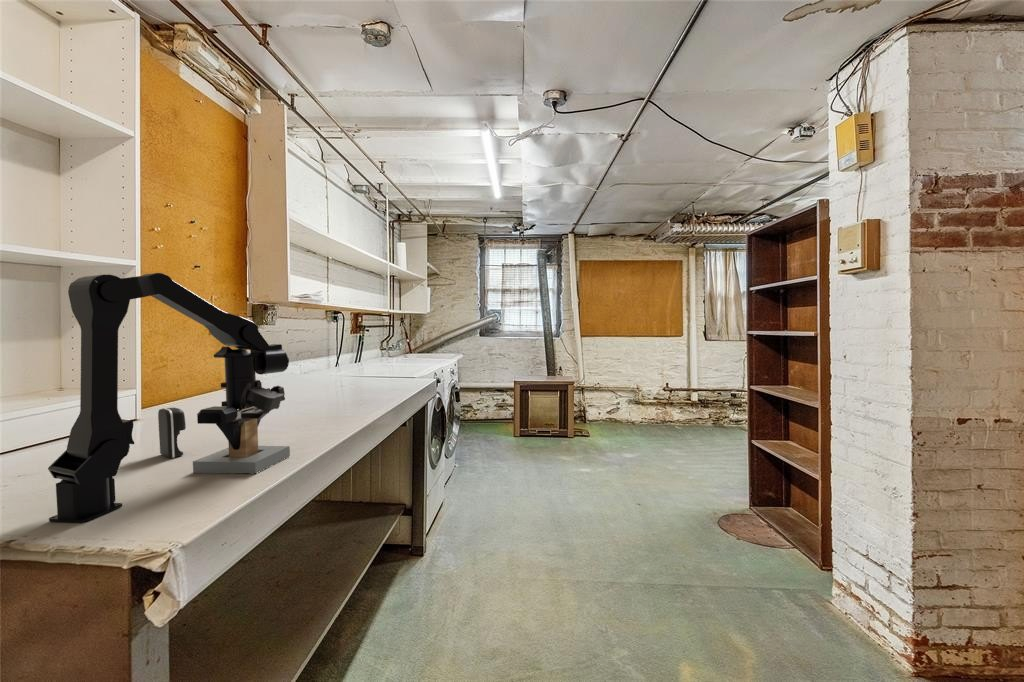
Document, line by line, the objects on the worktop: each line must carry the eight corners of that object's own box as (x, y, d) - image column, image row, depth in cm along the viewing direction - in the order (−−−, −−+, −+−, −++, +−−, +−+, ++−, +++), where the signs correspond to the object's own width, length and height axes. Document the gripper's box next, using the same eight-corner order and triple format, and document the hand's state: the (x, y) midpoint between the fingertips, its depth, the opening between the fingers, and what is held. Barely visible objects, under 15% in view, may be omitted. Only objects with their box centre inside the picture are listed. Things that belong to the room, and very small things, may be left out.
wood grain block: (246, 458, 96) (244, 422, 96) (229, 458, 96) (227, 422, 96) (258, 453, 100) (257, 418, 100) (241, 452, 100) (240, 418, 100)
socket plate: (255, 474, 92) (255, 462, 91) (193, 473, 93) (192, 461, 93) (289, 456, 103) (289, 446, 103) (234, 455, 105) (233, 445, 105)
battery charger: (188, 455, 106) (186, 408, 105) (169, 459, 103) (167, 411, 102) (178, 450, 110) (176, 405, 109) (159, 454, 107) (157, 407, 106)
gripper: (245, 382, 87) (248, 460, 88) (299, 372, 106) (301, 436, 107) (193, 382, 88) (196, 459, 89) (255, 372, 107) (258, 435, 108)
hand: (243, 446), depth 98 cm, fingers closed on wood grain block, 4 cm apart
